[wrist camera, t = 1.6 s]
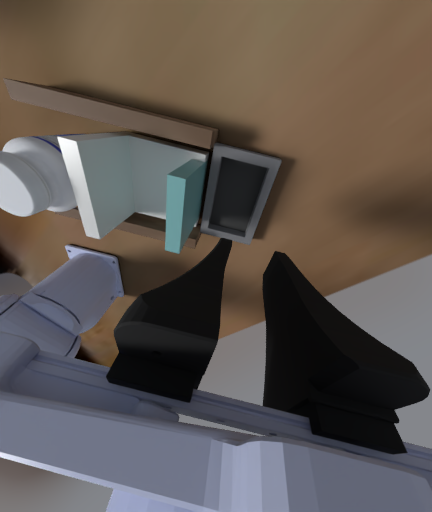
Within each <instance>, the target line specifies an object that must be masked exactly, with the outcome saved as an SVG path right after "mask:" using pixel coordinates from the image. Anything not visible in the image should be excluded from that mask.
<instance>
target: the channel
mask: <svg viewBox="0 0 432 512" xmlns="http://www.w3.org/2000/svg"><path fill="white" fill-rule="evenodd" d="M3 79H4V82H5V84H6V87H7V89H8V92H9V95H10V97H11V99H12V100H16V101H20V102H24V103H28V104H32V105H36V106H40V107H44V108H48V109H52V110H56V111H60V112H64V113H68V114H72V115H76V116H80V117H84V118H88V119H92V120H96V121H100V122H104V123H108V124H112V125H116V126H120V127H124V128H128V129H132V130H136V131H140V132H144V133H148V134H152V135H156V136H160V137H164V138H168V139H172V140H175V141H179V142H183V143H187V144H191V145H195V146H199V147H203V148H207V149H211V148H212V147H214V144H215V143H216V142H217V139H218V133H219V129H216V128H212V127H208V126H204V125H200V124H196V123H192V122H188V121H184V120H180V119H176V118H172V117H168V116H164V115H160V114H156V113H152V112H148V111H144V110H140V109H136V108H132V107H128V106H124V105H120V104H117V103H113V102H109V101H105V100H101V99H97V98H93V97H89V96H85V95H81V94H77V93H73V92H69V91H65V90H61V89H57V88H53V87H49V86H45V85H39V84H33V83H28V82H22V81H17V80H11V79H5V78H3ZM55 214H59V215H63V216H67V217H71V218H75V219H79V220H82V219H81V216H80V212H79V209H78V206H77V207H75V208H73V209H71V210H68V211H64V212H55ZM114 229H118V230H122V231H126V232H130V233H134V234H138V235H142V236H146V237H150V238H154V239H158V240H162V241H165V240H166V219H162V218H158V217H154V216H150V215H146V214H142V213H138V212H134V213H133V214H132V215H131V216H129V217H128V218H127V219H126V220H124V221H123V222H122V223H120V224H119V225H118V226H117V227H115V228H114ZM200 229H201V224H197V225H196V227H193V229H192V231H191V233H190V235H189V236H188V238H187V240H186V242H185V244H184V246H186V247H190V248H194V249H195V247H196V245H197V242H198V240H199V238H200V235H201V233H200Z"/></svg>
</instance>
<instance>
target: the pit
mask: <svg viewBox="0 0 432 512" xmlns="http://www.w3.org/2000/svg"><path fill="white" fill-rule="evenodd" d="M281 162H282V160H281V159H280V158H278V157H274V156H270V155H266V154H262V153H258V152H254V151H250V150H246V149H242V148H238V147H234V146H230V145H226V144H222V143H218V142H216V143H215V144H214V149H213V155H212V161H211V167H210V173H209V180H208V186H207V192H206V198H205V204H204V210H203V216H202V223H201V229H200V233H204V234H208V235H212V236H216V237H220V238H226V239H230V240H232V241H236V242H240V243H244V244H248V245H250V243H251V240H252V238H253V235H254V232H255V230H256V227H257V225H258V222H259V219H260V217H261V214H262V211H263V209H264V206H265V204H266V201H267V198H268V196H269V193H270V190H271V188H272V185H273V183H274V180H275V177H276V175H277V172H278V170H279V167H280V164H281Z"/></svg>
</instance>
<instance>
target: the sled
mask: <svg viewBox="0 0 432 512" xmlns="http://www.w3.org/2000/svg"><path fill="white" fill-rule="evenodd" d="M57 138H58V141H59V145H60V148H61V151H62V155H63V158H64V162H65V165H66V168H67V172H68V175H69V179H70V182H71V185H72V189H73V192H74V195H75V199H76V202H77V206H78V209H79V212H80V216H81V219H82V222H83V226H84V229H85V233H86V236H89V237H93V238H97V239H101V238H102V237H104V236H105V235H106V234H108V233H109V232H110V231H111V230H113V229H114V228H115V227H117V226H118V225H119V224H120V223H122V222H123V221H124V220H126V219H127V218H128V217H129V216H131V215H132V214H133V213H134V212H138V213H142V214H146V215H150V216H154V217H158V218H162V219H166V240H165V250H167V251H171V252H174V253H178V254H179V253H180V251H181V249H182V248H183V246H184V244H185V242H186V240H187V238H188V236H189V235H190V233H191V231H192V229H193V227H196V225H197V223H198V221H199V217H200V211H201V204H202V198H203V191H204V185H205V178H206V171H207V165H208V158H209V152H207V151H203V150H199V149H195V148H191V147H187V146H183V145H179V144H175V143H171V142H167V141H163V140H159V139H155V138H151V137H147V136H143V135H139V134H135V133H131V132H127V131H124V132H110V133H97V134H83V135H70V136H57Z"/></svg>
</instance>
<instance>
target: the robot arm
mask: <svg viewBox="0 0 432 512" xmlns="http://www.w3.org/2000/svg"><path fill="white" fill-rule="evenodd" d="M231 247H232V240H230V239H226V238H221V239H220V240H219V242H218V244H217V245H216V246H215V248H214V249H213V250H212V251H211V252H210V253H209V254H208V255H207V256H206V257H205V258H204V259H203V260H202V261H201V262H200V263H198V264H197V265H196V266H195V267H193V268H192V269H191V270H189V271H188V272H186V273H185V274H183V275H182V276H180V277H178V278H176V279H175V280H173V281H171V282H169V283H167V284H165V285H163V286H161V287H158V288H156V289H153V290H151V291H148V292H146V293H143V294H141V295H140V296H139V297H138V298H137V299H136V300H135V301H134V302H133V303H132V304H131V306H130V307H129V308H128V309H127V311H126V312H125V313H124V315H123V317H122V318H121V320H120V321H119V323H118V324H117V326H116V328H115V329H114V337H115V340H116V343H117V347H118V350H119V354H118V356H117V357H116V359H115V361H114V363H113V364H112V366H111V368H110V367H106V366H102V365H98V364H94V363H90V362H86V361H82V360H78V359H74V357H75V355H76V354H77V352H78V350H79V348H80V343H81V336H80V335H79V334H80V333H83V332H85V331H87V330H89V329H91V328H92V327H93V326H95V325H96V324H97V323H98V321H99V320H100V319H101V317H102V316H103V315H104V313H105V312H106V311H107V309H108V308H109V307H110V306H111V304H112V303H113V302H114V300H115V299H116V298H117V296H119V297H123V296H124V291H123V286H122V280H121V275H120V270H119V264H118V259H117V257H115V256H112V255H109V254H105V253H101V252H97V251H93V250H89V249H85V248H81V247H77V246H73V245H69V244H68V245H66V246H65V248H66V251H67V253H68V256H69V258H70V260H69V261H67V262H66V263H65V264H63V265H62V266H61V267H60V268H58V269H57V270H56V271H54V272H53V273H52V274H50V275H49V276H48V277H46V278H45V279H44V280H43V281H41V282H40V283H39V284H37V285H36V286H35V287H33V288H32V289H31V290H29V291H28V292H27V293H25V294H24V295H22V296H20V297H19V296H18V295H17V294H6V295H2V296H1V297H0V457H2V458H5V459H9V460H13V461H16V462H20V463H23V464H27V465H30V466H34V467H37V468H41V469H45V470H48V471H52V472H55V473H59V474H63V475H66V476H70V477H73V478H77V479H81V480H84V481H88V482H91V483H95V484H99V485H102V486H106V487H110V488H113V489H114V490H113V493H112V496H111V498H110V501H109V504H108V506H107V509H106V512H432V449H430V448H426V447H422V446H418V445H414V444H410V443H406V442H402V439H401V437H400V435H399V433H398V431H397V429H396V427H395V425H394V423H399V418H398V416H397V415H396V413H395V411H394V410H395V409H398V408H402V407H405V406H408V405H411V404H414V403H417V402H420V401H422V400H424V399H425V398H427V397H428V395H429V392H430V389H429V387H428V385H427V383H426V382H425V381H424V379H423V378H422V376H421V375H420V373H419V372H418V370H417V368H416V367H415V366H414V364H413V363H412V362H410V361H409V360H407V359H406V358H404V357H403V356H401V355H400V354H398V353H397V352H395V351H393V350H392V349H390V348H389V347H387V346H386V345H384V344H382V343H381V342H379V341H378V340H377V339H375V338H374V337H372V336H371V335H369V334H368V333H367V332H365V331H364V330H363V329H361V328H360V327H359V326H357V325H356V324H354V323H353V322H352V321H351V320H350V319H348V318H347V317H346V316H345V315H343V314H342V313H341V312H339V311H338V310H337V309H336V308H335V307H334V306H333V305H332V304H331V303H329V302H328V301H327V300H326V299H325V298H324V297H323V296H322V295H321V294H320V293H319V292H318V291H317V290H316V289H315V288H314V287H313V286H312V284H311V283H310V282H309V281H308V280H307V279H306V278H305V277H304V275H303V274H302V273H301V272H300V271H299V269H298V268H297V267H296V266H295V264H294V263H293V262H292V261H291V260H290V258H289V257H288V256H287V255H286V254H285V253H281V252H277V251H275V252H274V254H273V256H272V258H271V260H270V262H269V264H268V266H267V268H266V270H265V272H264V274H263V299H264V309H265V318H266V366H265V384H264V397H263V406H260V405H256V404H252V403H248V402H244V401H240V400H236V399H232V398H228V397H224V396H220V395H216V394H213V393H209V392H204V391H201V390H197V389H198V386H199V384H200V381H201V379H202V376H203V375H204V374H205V371H206V369H207V367H208V364H209V362H210V359H211V357H212V355H213V352H214V350H215V347H216V345H217V342H218V336H219V329H220V313H221V298H222V287H223V279H224V271H225V266H226V263H227V260H228V257H229V253H230V250H231ZM177 413H179V414H183V415H186V416H191V417H194V418H198V419H203V420H207V421H210V422H214V423H218V424H222V425H226V426H230V427H234V428H238V429H242V430H246V431H250V432H254V433H258V434H262V435H266V436H256V435H251V434H245V433H240V432H235V431H229V430H222V429H217V428H211V427H205V426H200V425H194V424H188V423H182V422H178V421H179V416H178V414H177Z"/></svg>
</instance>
